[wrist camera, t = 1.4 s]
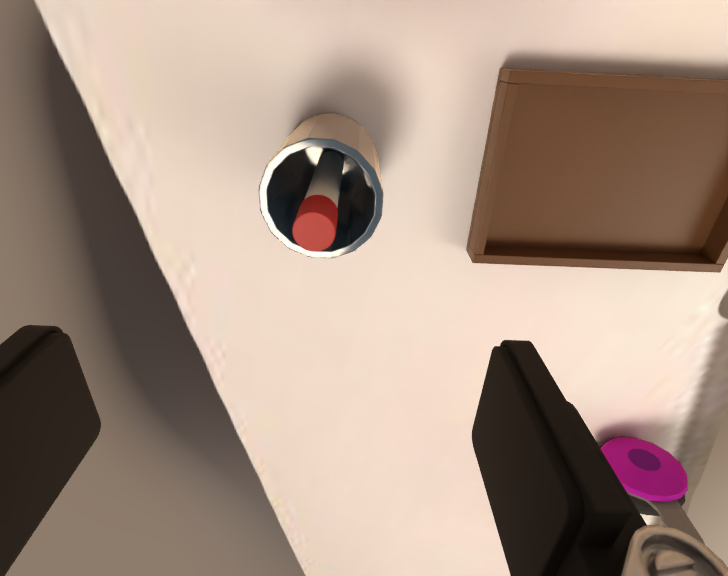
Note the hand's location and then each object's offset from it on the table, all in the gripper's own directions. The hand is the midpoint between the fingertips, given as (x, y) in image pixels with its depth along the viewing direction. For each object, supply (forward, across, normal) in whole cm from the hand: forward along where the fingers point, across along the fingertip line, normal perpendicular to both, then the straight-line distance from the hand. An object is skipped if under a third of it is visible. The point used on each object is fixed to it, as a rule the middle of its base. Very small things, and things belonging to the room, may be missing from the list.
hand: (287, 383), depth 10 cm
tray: (+27, -22, +1) cm, 35 cm away
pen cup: (+27, 0, +1) cm, 27 cm away
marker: (+27, 0, +1) cm, 27 cm away
